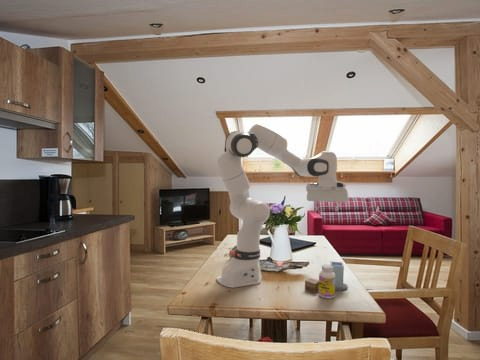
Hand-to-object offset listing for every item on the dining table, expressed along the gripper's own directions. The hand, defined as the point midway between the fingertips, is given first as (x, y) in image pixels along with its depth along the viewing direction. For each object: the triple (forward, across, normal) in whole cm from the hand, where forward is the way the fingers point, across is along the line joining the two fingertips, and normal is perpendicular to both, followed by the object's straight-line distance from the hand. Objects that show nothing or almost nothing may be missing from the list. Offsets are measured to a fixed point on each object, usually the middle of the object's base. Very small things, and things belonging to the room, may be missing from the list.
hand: (326, 210), depth 154 cm
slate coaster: (+33, +5, -14) cm, 36 cm away
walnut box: (+33, -6, -21) cm, 40 cm away
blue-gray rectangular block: (+32, +5, -14) cm, 36 cm away
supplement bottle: (+33, 0, -27) cm, 43 cm away
